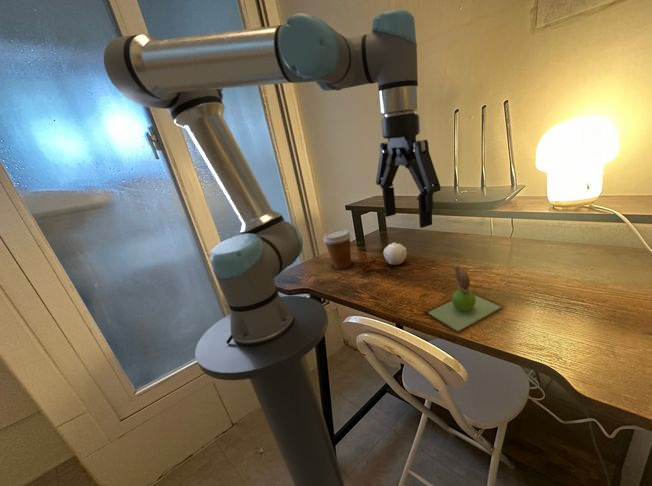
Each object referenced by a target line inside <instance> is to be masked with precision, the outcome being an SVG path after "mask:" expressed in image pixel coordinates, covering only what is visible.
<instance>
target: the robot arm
mask: <svg viewBox="0 0 652 486" xmlns="http://www.w3.org/2000/svg"><path fill="white" fill-rule="evenodd" d="M416 35H417V34H416V24H415V17H414V15H413V14H412V13H411V12H410V11H408V10H405V9H391V10H386V11H384V12H382V13H379V14H377V15H376V16H375V17H374V18H373V19H372V28H371V32H368V33H367V34H363V35H359V36H354V37H353V36H352V37H345V36H344V35H342V34H341V33H339V31H337V30H335V29H334V28H332V27H331V26H330V25H329V24H328V23H327V22H325V20H324V19H322V18H319V17H317V16H315V15H311V14H309V13H305V12H297V13H294V14H292V15H291V16H290V17H288V18H287V20H286V21H284V22H283V24H279V25H270V26H269V25H268V26H261V27H253V28H245V29H238V30H228V31H222V32H214V33H206V34H197V35H196V34H195V35H190V36H181V37H173V38H165V39H158V38H156V37H154V36H152V35H149V34H144V33H142V34H134V35H124V36H118V37H116V38H114V39H112V40H111V41H110V42H109V43H108V44H107V45H106V46H105V49H104V52H103V65H104V70H105V72H106V75H107V77H108V79H109V80H110V82H111V83H112V85H113V86H114V87H115V88H116V90H117V91H118V92H119V93H120V94H121V95H123V96H124V97H125V98H127V100H130V101H131V102H132V103H135V104H138V105H139V106H143V107H146V108H152V109H164V110H167V112H168V114H169V115H170V118H171V119H172V121H173V122H174V124H175V125H176V126H178V127H181V128H182V129H185V130H186V131H187V132H188V134H189V136H190V138H191V139H192V141H193V142H194V145H195V147H196V148H197V149H198V151H199V153H200V155H201V156H202V158H203V160H204V161H205V163H206V165H207V167H208V168H209V170H210V172H211V173H212V175H213V177H214V179H215V180H216V182H217V184H218V185H219V188H220V189H221V191H222V192H223V194H224V196H225V197H226V199H227V202H229V204H230V207H231V208H232V210H233V211H234V213H235V216H237V219H238V220H239V222H240V223H241V227H240V231H239V234H238V235H234V236H233V237H231V238H227V239H224V240H223V241H221V242H219V243H217V244H216V245H215V246H214V247H213V248H212V250H211V251H210V254H209V261H210V263H211V266H212V273H213V274H214V275H215V277H216V280H217V283H218V285H219V287H220V289H221V292H222V294H223V296H224V299H225V302H226V304H227V306H228V308H229V314H230V327H231V336H230V337H229V339H228V340H227V342H226V343H228V344H229V343H230V341H231V340H232V338H233V340H234V342H235V343H236V344H238V345H241V346H257V345H262V344H265V343H268V342H271V341H273V340H275V339H277V338H279V337H280V336H282V335H283V334H285V333H286V332H287V331H288V330H289V329H290V328H291V326H292V325H293V322H294V318H293V315H292V312H291V310H290V309H289V307H288V306H287V305H286V304H285V302H284V301H283V300H282V298H281V297H282V296H280V294H279V292H278V288H277V285H276V282H275V278H276V277H277V276H278V275H280V274H281V273H282V272H284V270H286V269H287V268H288V267H289V266H292V265H293V264H294V263H295V262H296V260H297V259H298V258H299V257H300V255H302V251H303V247H304V241H303V237H302V234H301V232H300V230H299V228H297V226H296V225H294V224H292V223H291V222H289V221H286V219H284V216H283V215H282V213H280V212H278V211H275V210H274V209H273V208H272V206H271V205H270V203H269V201H268V199H267V197H266V195H265V194H264V192H263V190H262V188H261V186H260V184H259V182H258V180H257V178H256V176H255V175H254V173H253V171H252V169H251V167H250V165H249V163H248V161H247V159H246V157H245V156H244V154H243V152H242V150H241V148H240V147H239V145H238V143H237V141H236V139H235V137H234V134H232V131H231V129H230V128H229V126H228V124H227V122H226V120H225V119H224V112H225V108H226V107H225V105H224V103H223V99H224V93H223V90H224V89H230V88H232V89H233V88H245V87H254V86H255V87H256V86H268V85H281V84H291V83H292V84H299V83H316V85H318V86H319V88H320V90H322V91H324V92H327V91H328V92H329V91H341V90H343V89H349V88H352V87H353V88H354V87H359V86H364V85H369V84H371V85H373V84H376V83H377V87H378V98H379V99H378V101H379V102H378V103H379V112H380V115H381V116H383V118H381V121H380V122H381V132H382V138H383V139H386V140H387V142H381V143H379V157H378V164H377V172H376V178H375V184H376V186H379V187H380V189H381V190H382V191H381V192H382V200H383V208H384V210H383V211H384V217H386V218H388V217H392V216H395V215H397V210H396V209H397V208H396V197H395V187H394V185H395V184H393V182H394V180H395V177H396V175H397V173H398V170H399V167H400V166H401V167H404V168H406V169H407V170H408V171H409V173H410V175H411V177H412V180H413V181H414V183H415V185H416V186H417V188H418V190H419V192H420V193H419V194H418V196H417V197H418V218H419V228H421V229H423V228H425V227H429V226H432V225H433V209H434V193H437V192H440V191H441V189H442V188H441V184H440V181H439V177H438V174H437V172H436V169H435V166H434V162H433V160H432V157H431V154H430V148H429V140H428V139H421V140H417V136H418V135H419V134H420V132H421V126H420V125H421V123H420V115H419V114H418V113H417V112H418V111H419V109H420V107H419V105H420V104H419V80H418V79H419V78H418V42H417V36H416Z"/></svg>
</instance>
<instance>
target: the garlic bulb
mask: <svg viewBox="0 0 652 486" xmlns="http://www.w3.org/2000/svg"><path fill="white" fill-rule="evenodd" d="M382 255H383V257H384V260H385V261H386V262H387V263H388V264H389V265H392V266H398V265H400V264H402V263H404V262H405V261H406V259H407V255H408V250H407V247H405V246H404V245H402V244H401V243H397V242H392V243H390V244H388V245H387V246H386V247H384V249H383V253H382Z"/></svg>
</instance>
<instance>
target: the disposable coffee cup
mask: <svg viewBox="0 0 652 486" xmlns="http://www.w3.org/2000/svg"><path fill="white" fill-rule="evenodd" d="M351 236H352V235H351V233H350V231H349V230H347V229H336V230H332V231H328V232H326V233H325V234H324V235H323V242H324V243H325V245H326V248H327V251H328V254H329V257H330V260H331V263H332V265H333V268H334V269H336V270H343V269H346V268H349V267H351V265H352V255H351V254H352V253H351Z"/></svg>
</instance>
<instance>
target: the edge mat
mask: <svg viewBox="0 0 652 486" xmlns="http://www.w3.org/2000/svg"><path fill="white" fill-rule="evenodd" d="M474 295H475V299H476V302H475V305H474V307H473V308H472V309H471V310H469V311H466V312H462V311H459V310H457V309H456V308H455V307H454V306H453V304H452V300H451V301H448V302H446V303H444V304H442V305H440V306H438V307H436V308H433V309H432V310H429V311H428V312H427V314H428V315H430V316H431V317H432V318H434V319H436V320H438V321H439V322H441V323H443V324H444V325H446V326H447V327H449V328H450V329H452V330H454V331H456V332H457V333H459V332H461V331H463V330H464V329H467V328H468V327H469V326H472V325H473V324H475V323H477V322H479V321H481V320H483V319H485V318H486V317H488V316H490V315H491V314H493V313H496V312H497V311H499V310H501V309H502V306H500V305H499V304H496V303H493V302H491V301H489V300H487V299H484V298H482V297H480V296H478V295H476V294H474Z"/></svg>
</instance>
